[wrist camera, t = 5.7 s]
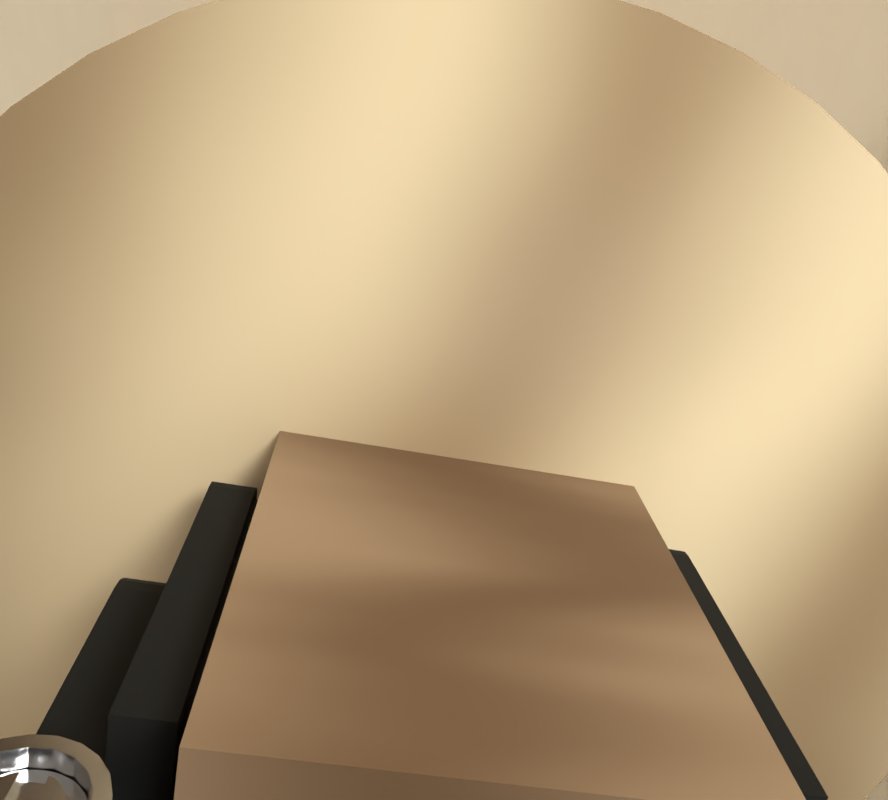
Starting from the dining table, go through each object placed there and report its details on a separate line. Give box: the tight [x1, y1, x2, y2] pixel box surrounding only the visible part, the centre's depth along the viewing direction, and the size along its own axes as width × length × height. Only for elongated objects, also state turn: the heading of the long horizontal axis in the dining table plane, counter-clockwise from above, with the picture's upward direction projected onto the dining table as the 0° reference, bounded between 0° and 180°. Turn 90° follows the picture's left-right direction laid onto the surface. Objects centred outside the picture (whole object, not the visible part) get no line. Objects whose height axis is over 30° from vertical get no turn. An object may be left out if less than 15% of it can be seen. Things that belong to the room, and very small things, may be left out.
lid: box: [0, 0, 888, 800], centre depth 10 cm, size 15×15×7 cm
